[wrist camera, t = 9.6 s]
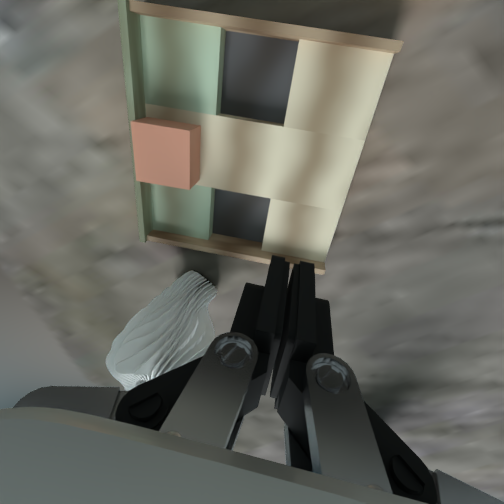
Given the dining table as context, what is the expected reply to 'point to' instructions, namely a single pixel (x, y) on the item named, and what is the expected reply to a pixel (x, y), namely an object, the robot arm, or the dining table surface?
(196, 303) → the shell sculpture
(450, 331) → the dining table surface
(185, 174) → the block
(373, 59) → the box
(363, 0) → the dining table surface
